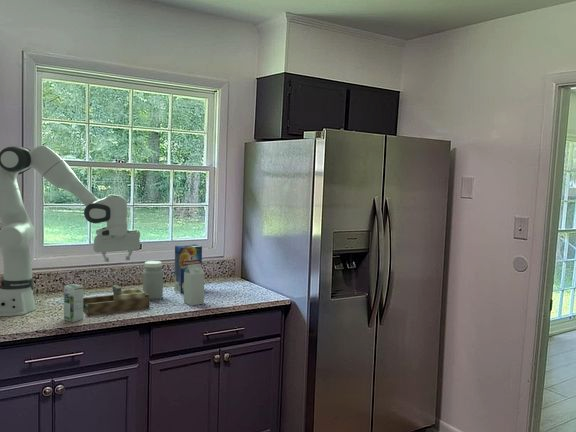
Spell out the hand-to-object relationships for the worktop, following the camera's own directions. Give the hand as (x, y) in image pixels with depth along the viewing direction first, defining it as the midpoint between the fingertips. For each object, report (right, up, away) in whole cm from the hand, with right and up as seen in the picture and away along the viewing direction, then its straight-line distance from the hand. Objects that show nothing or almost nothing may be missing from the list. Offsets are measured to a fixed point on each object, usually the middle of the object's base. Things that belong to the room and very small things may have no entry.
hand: (117, 260), depth 236 cm
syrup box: (-13, -23, -17) cm, 32 cm away
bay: (-1, -22, +2) cm, 22 cm away
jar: (+10, -21, +23) cm, 32 cm away
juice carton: (+24, -20, +39) cm, 50 cm away
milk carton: (+32, -22, +15) cm, 42 cm away
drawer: (+4, -21, +5) cm, 22 cm away
